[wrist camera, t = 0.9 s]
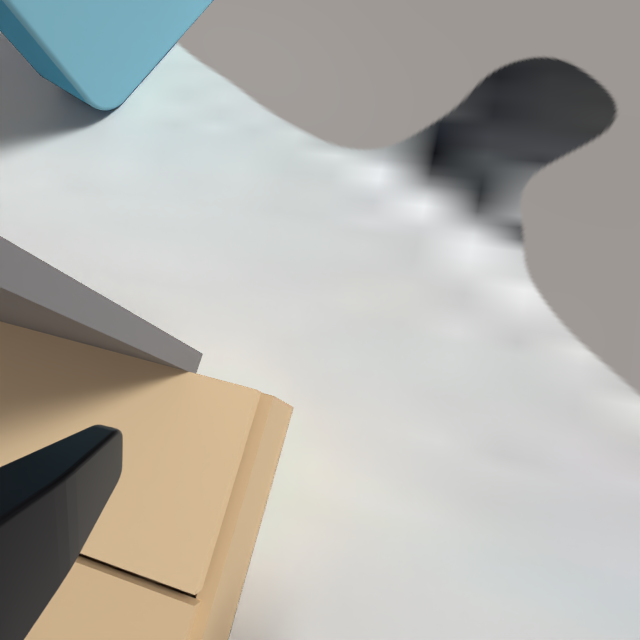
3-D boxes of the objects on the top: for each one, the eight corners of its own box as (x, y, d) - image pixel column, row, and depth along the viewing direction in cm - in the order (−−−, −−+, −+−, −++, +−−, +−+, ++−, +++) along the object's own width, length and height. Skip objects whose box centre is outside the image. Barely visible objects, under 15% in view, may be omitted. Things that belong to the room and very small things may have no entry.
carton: (189, 776, 17) (124, 883, 13) (-177, 612, 21) (-325, 653, 16) (293, 407, 21) (270, 393, 16) (-37, 318, 24) (-129, 287, 20)
